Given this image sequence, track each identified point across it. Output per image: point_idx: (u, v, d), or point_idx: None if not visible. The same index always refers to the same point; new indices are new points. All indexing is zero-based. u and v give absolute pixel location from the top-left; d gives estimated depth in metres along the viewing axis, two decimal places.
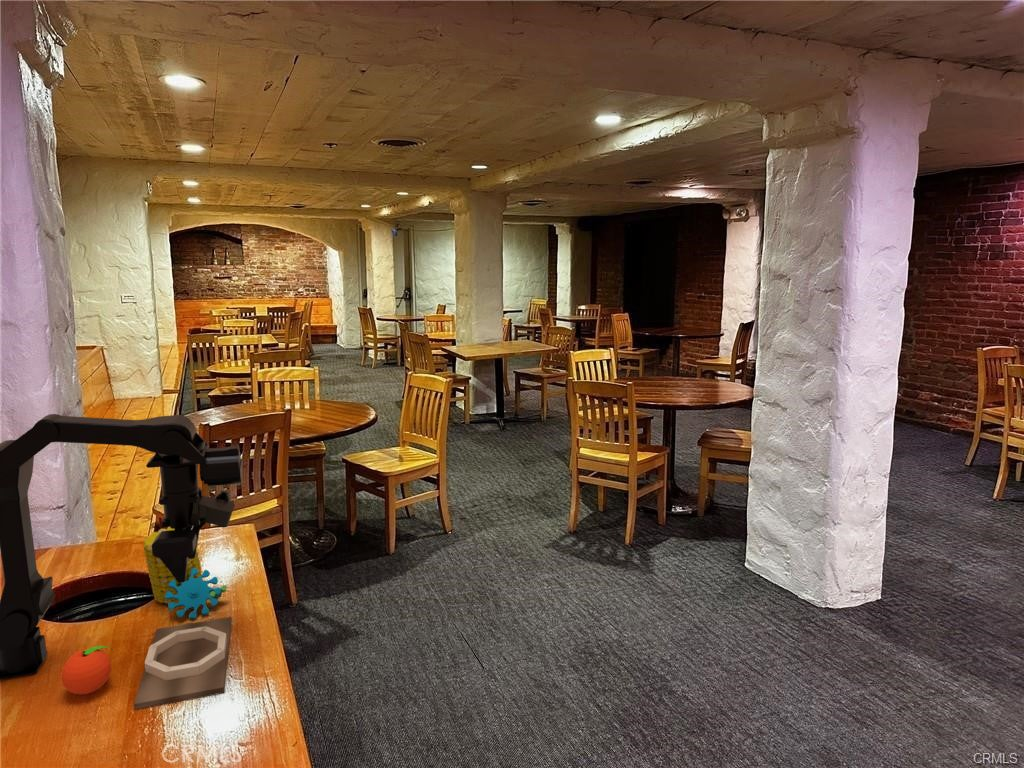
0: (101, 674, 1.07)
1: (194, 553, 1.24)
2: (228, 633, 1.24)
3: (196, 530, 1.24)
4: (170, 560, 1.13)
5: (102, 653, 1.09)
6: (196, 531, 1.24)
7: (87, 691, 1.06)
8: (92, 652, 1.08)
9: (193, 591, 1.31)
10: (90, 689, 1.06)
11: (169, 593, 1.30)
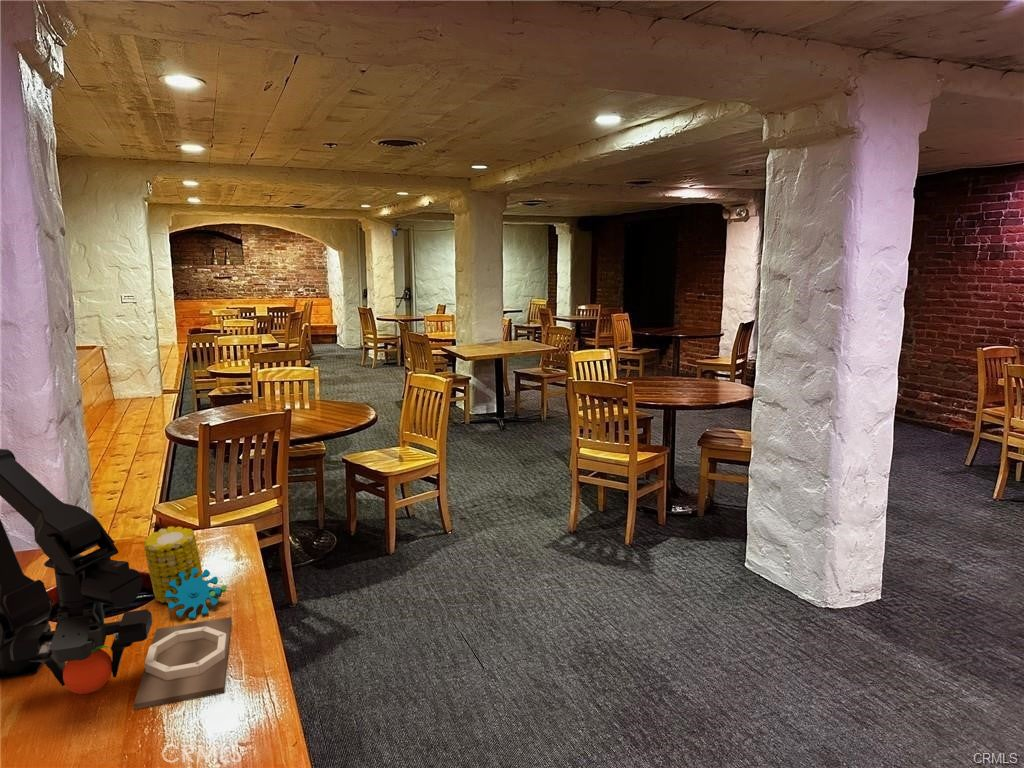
0: (102, 673, 1.07)
1: (112, 672, 1.10)
2: (228, 633, 1.24)
3: None
4: None
5: (104, 652, 1.09)
6: None
7: (88, 690, 1.07)
8: (93, 652, 1.08)
9: (193, 591, 1.32)
10: (91, 688, 1.07)
11: (169, 592, 1.30)
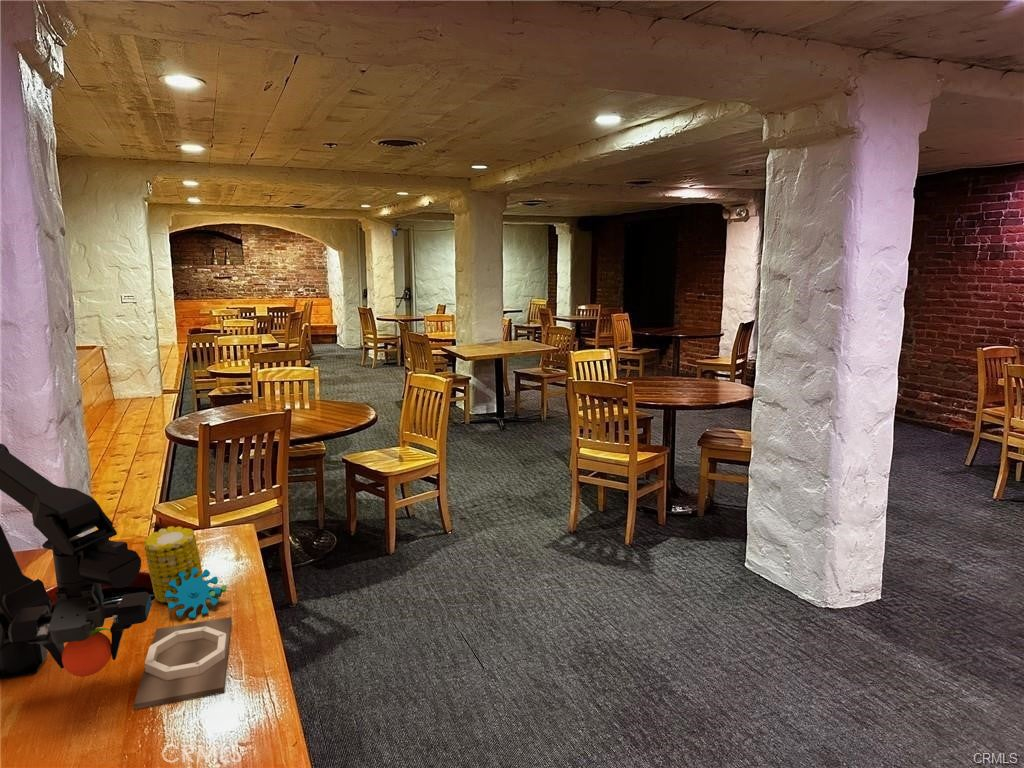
0: (102, 656, 1.07)
1: (112, 655, 1.09)
2: (228, 633, 1.24)
3: None
4: None
5: (103, 635, 1.09)
6: (111, 633, 1.08)
7: (88, 673, 1.06)
8: (92, 634, 1.07)
9: (193, 591, 1.32)
10: (91, 670, 1.06)
11: (169, 592, 1.30)
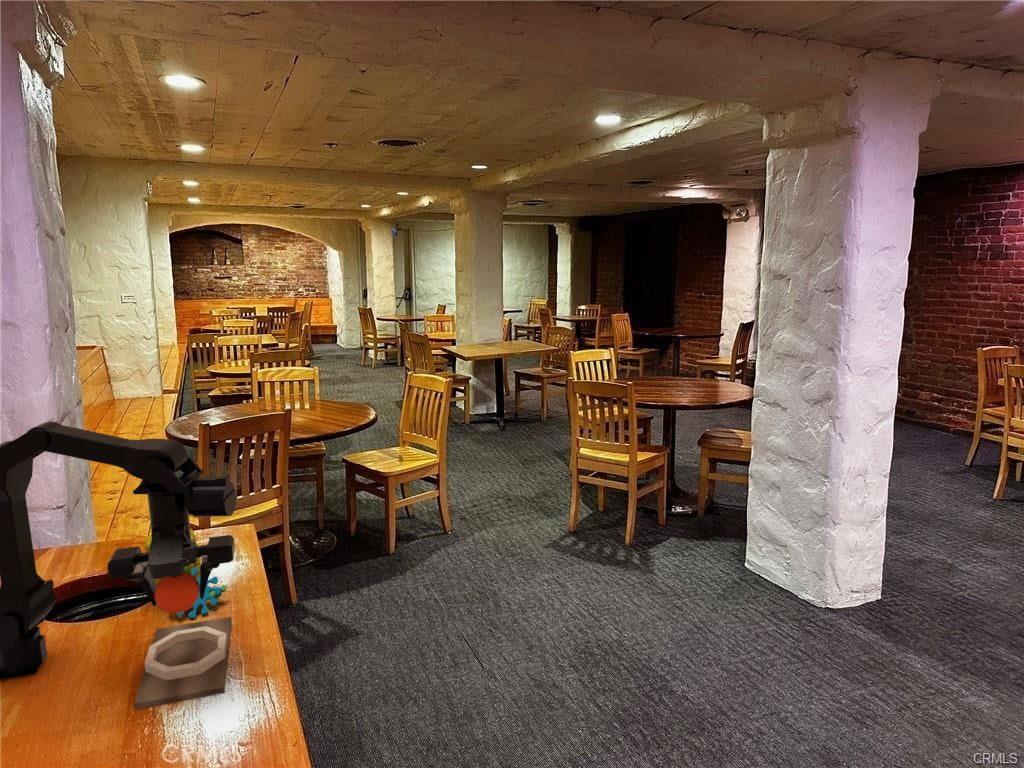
0: (192, 593, 1.12)
1: (200, 594, 1.15)
2: (228, 633, 1.24)
3: None
4: None
5: (191, 575, 1.14)
6: None
7: (179, 610, 1.11)
8: (182, 574, 1.13)
9: None
10: (182, 607, 1.11)
11: None
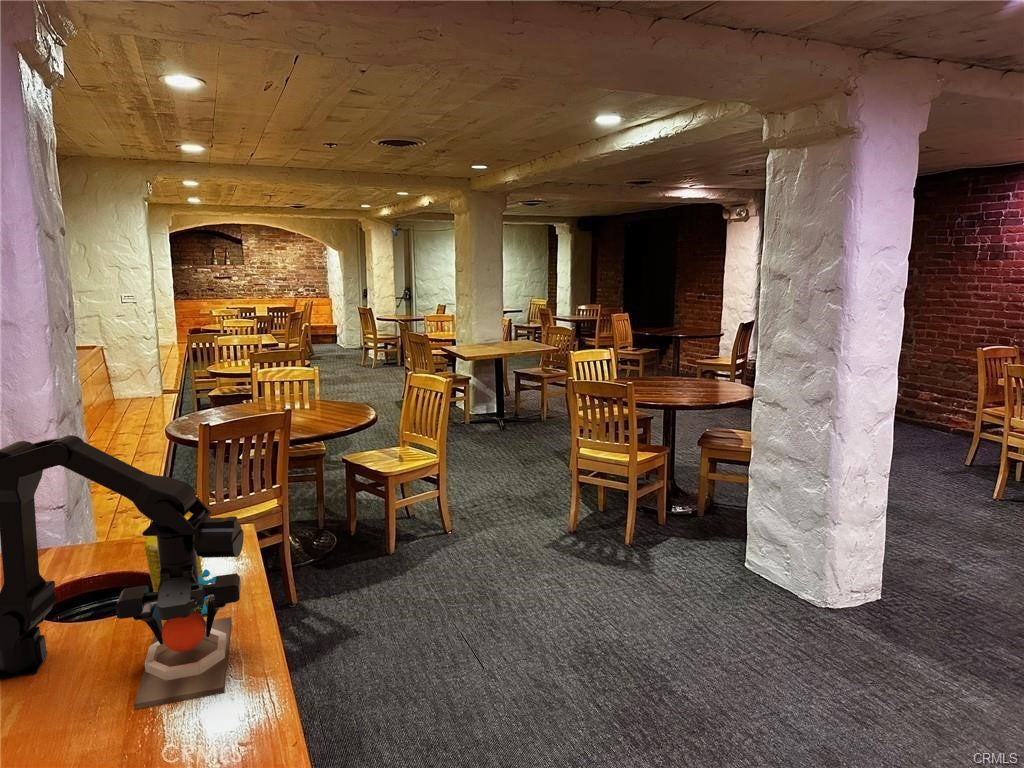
0: (199, 632, 1.14)
1: (206, 632, 1.17)
2: (228, 633, 1.24)
3: (207, 611, 1.15)
4: None
5: (198, 614, 1.16)
6: (207, 612, 1.15)
7: (186, 648, 1.13)
8: None
9: None
10: (189, 646, 1.13)
11: None
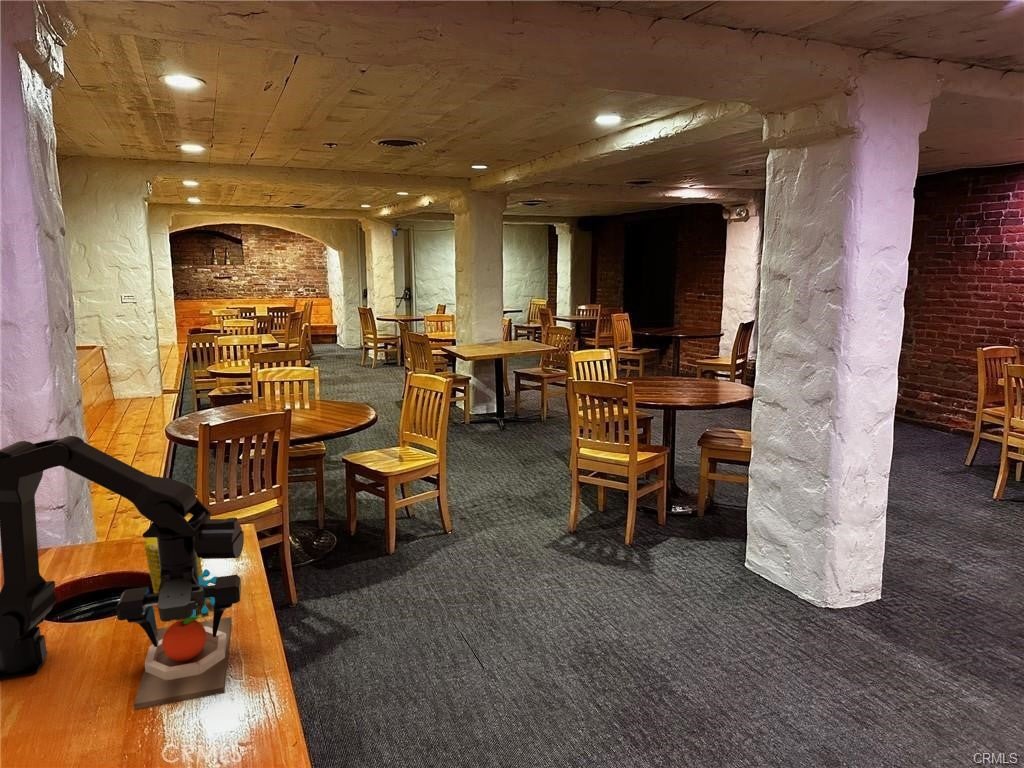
0: (199, 642, 1.14)
1: (213, 632, 1.17)
2: (228, 633, 1.24)
3: None
4: None
5: (198, 623, 1.16)
6: None
7: (186, 658, 1.14)
8: (190, 622, 1.15)
9: None
10: (189, 656, 1.14)
11: None
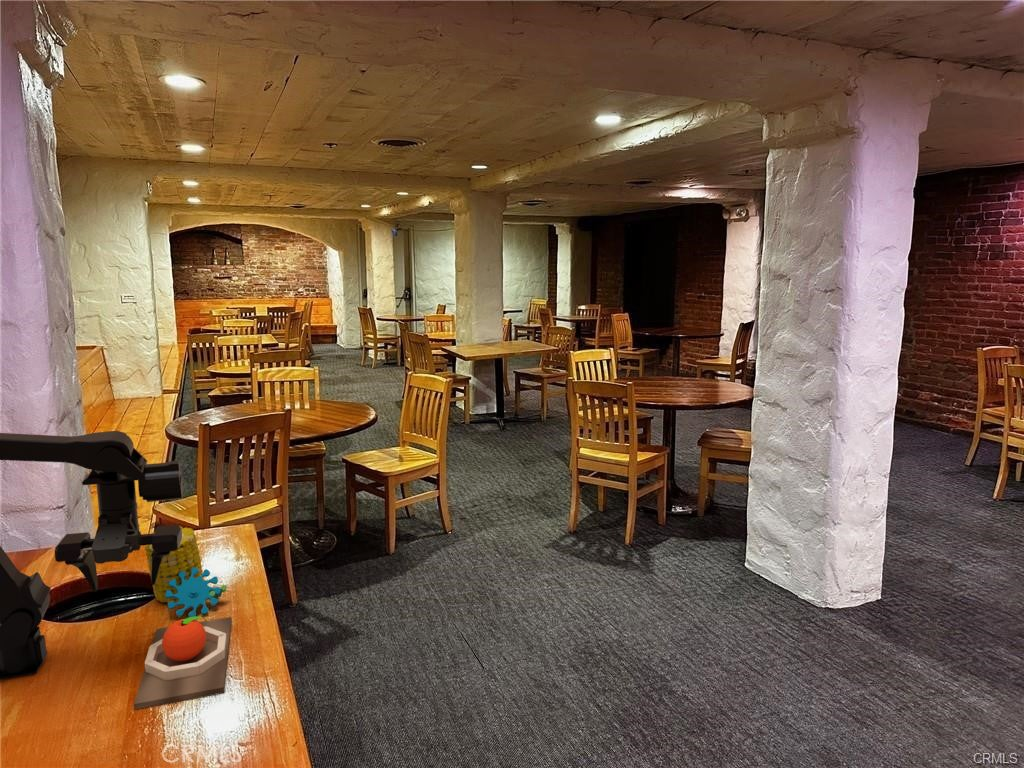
0: (199, 642, 1.14)
1: (151, 580, 1.20)
2: (228, 633, 1.24)
3: None
4: None
5: (198, 623, 1.16)
6: (152, 560, 1.18)
7: (186, 658, 1.14)
8: (189, 622, 1.15)
9: (193, 590, 1.32)
10: (189, 656, 1.14)
11: (169, 592, 1.30)
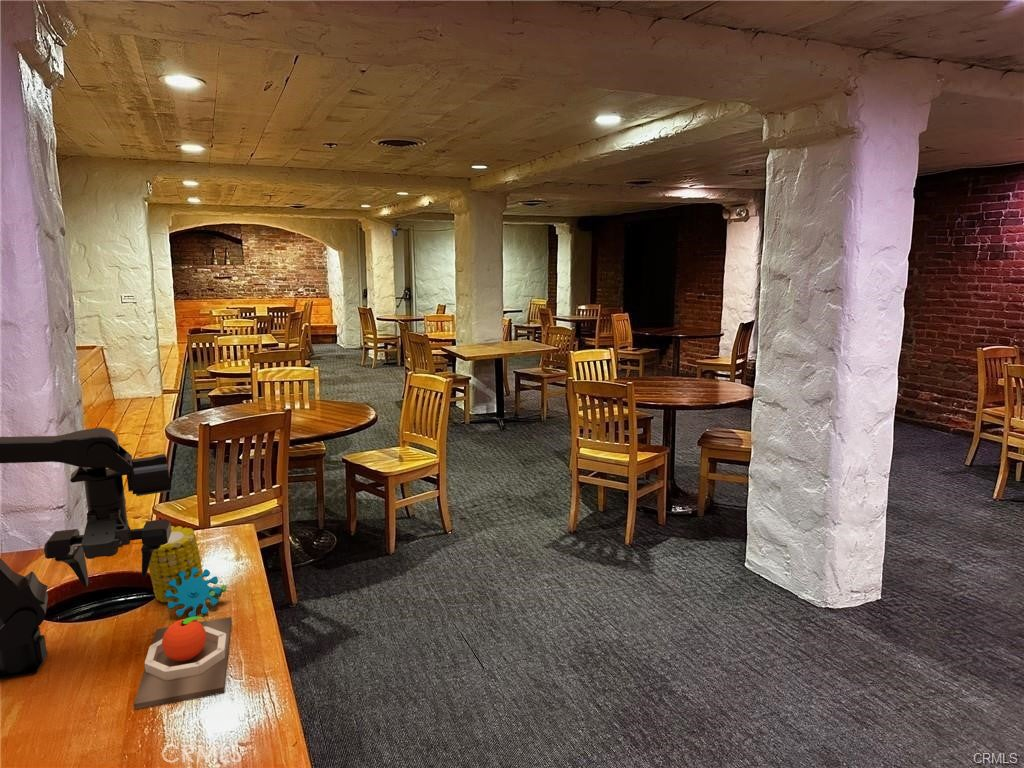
0: (199, 642, 1.14)
1: (142, 574, 1.21)
2: (228, 633, 1.24)
3: (142, 553, 1.19)
4: None
5: (198, 623, 1.16)
6: (142, 554, 1.19)
7: (186, 658, 1.14)
8: (189, 622, 1.15)
9: (193, 590, 1.32)
10: (189, 656, 1.14)
11: (169, 592, 1.30)
